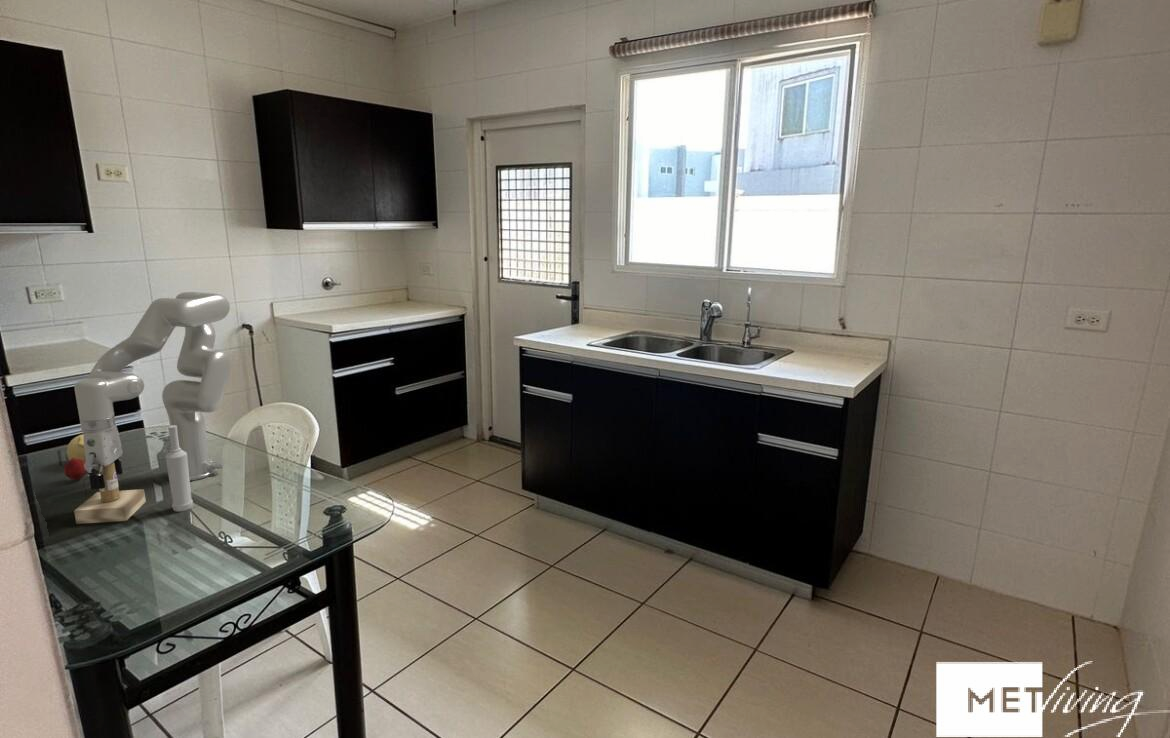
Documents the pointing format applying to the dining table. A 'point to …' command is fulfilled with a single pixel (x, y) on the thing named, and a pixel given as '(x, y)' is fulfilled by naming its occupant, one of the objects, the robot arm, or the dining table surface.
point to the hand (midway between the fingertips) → (107, 481)
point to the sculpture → (76, 448)
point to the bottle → (178, 474)
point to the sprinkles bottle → (109, 484)
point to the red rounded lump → (75, 468)
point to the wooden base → (110, 507)
